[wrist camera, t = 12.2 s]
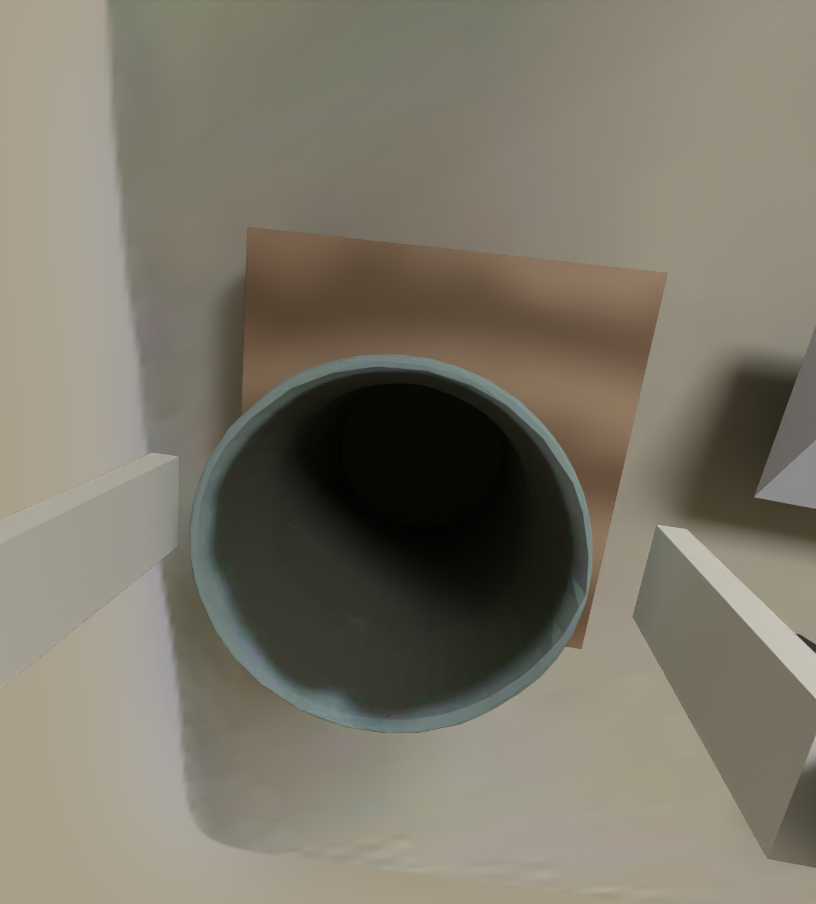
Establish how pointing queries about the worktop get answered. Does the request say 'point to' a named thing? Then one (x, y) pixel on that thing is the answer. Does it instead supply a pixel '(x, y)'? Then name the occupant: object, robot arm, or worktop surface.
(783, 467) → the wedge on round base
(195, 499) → the grey cup
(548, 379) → the walnut stand
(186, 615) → the worktop surface
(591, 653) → the worktop surface
